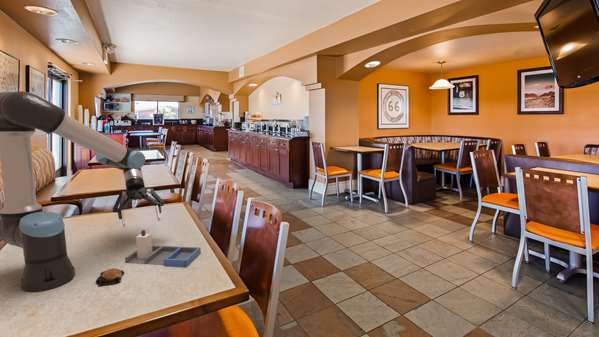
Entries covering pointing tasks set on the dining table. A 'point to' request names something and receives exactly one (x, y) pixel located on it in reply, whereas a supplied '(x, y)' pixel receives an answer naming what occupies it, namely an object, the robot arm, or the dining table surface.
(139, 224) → the dining table surface
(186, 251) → the gray divided tray
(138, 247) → the cream block with knob
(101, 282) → the bun on dark wrapper
